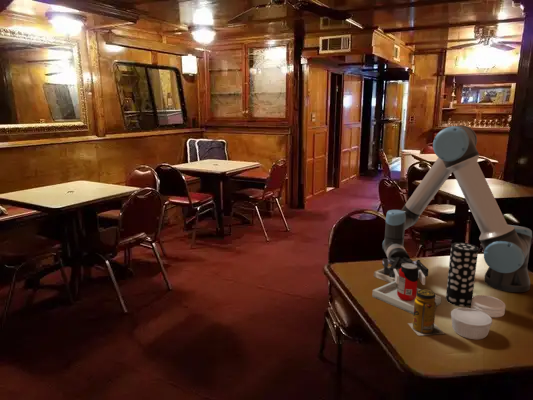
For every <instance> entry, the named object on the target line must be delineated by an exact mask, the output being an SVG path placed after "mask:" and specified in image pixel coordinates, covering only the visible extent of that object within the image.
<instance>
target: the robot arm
mask: <svg viewBox="0 0 533 400" xmlns="http://www.w3.org/2000/svg"><path fill="white" fill-rule="evenodd" d="M477 144H478V136H477V134H476V132H475V131H474V130H473V129H472V128H471V127H469V126H466V125H456V126H454V125H451V126H448V127H445V128H443V129H441V130H440V131H439V132H438V133H436V135H435V137H434V139H433V142H432V149H433V152H434V154H435V156H436V157H437V159H436V160H435V161H434V162H433V165H432V166H431V167H430V168H429V170H428V172H426V174H425V176H424V177H423V178H422V180H421V181H420V183H419V184H418V186H417V187H416V188H415V189H414V191H413V193H412V194H411V196H410V197H409V198H408V200H407V201H406V203H404V205H403V207H402V208H401V209H389V210H387V212H386V216H385V220H384V221H385V228H384V229H385V230H384V240H383V241H382V250H383V252H384V253H385V255H386V257H387V258H386V257H384V258H383V257H382V264H381V265H382V266H383V268H384V275H388V276H389V277H392V278H394V279H395V281H396V284H399V275H398V272H397V269H400V267H401V265H402V264H403V263H412V264H415V265H416V266H417V269H418V279H419V280H418V281H420V283H421V284H422V285H423V286H425V285H426V278H427V277H429V268H428V267H427V266H425V265H424V264H423V263H422V262H421V259H416V260H414V261H413V260H412V259H411V257H410V255H409V253H408V251H407V250H406V248H405V247H404V241H405V230H407V229H409V228H410V227H413V226H414V225H415V224H416V223H417V222H418V221H419V218H420V216H421V215H422V214H423V212H424V211H425V209H426V208H427V207H428V205H429V204H430V203H431V201H432V200H433V199H434V197H435V196H436V194H438V192H439V190H440V189H441V188H442V186H444V184H445V183H446V181H447V180H448V179H449V177H450V176H451V175H452V173H453V175H454V177H455V179H456V181H457V184H458V186H459V188H460V191H461V192H462V195H463V197H464V199H465V201H466V204H468V208H469V210H470V211H471V213H472V216H473V218H474V220H475V222H476V224H477V226H478V229H479V231H480V235H479V238H478V239H479V241H480V244H481V247H482V249H483V250H484V251H483V259H484V262H485V264H486V265H487V266H488V268H487V270H486V272H485V274H484V283H485V284H486V285H488V286H490V287H492V288H494V289H496V290H498V291H499V290H500V291H503V292H510V293H525V292H528V291H529V290H530V289H531V279H530V276H529V271H528V270H529V269H528V263H529V259H530V252H531V251H530V250H531V243H532V239H533V231H532V230H531V228H528V227H526V226H519V225H516V224H515V225H514V224H513V225H512V224H508V222H507V221H506V219H505V216H504V214H503V213H502V211H501V209H500V206H499V205H498V202H497V200H496V197H495V196H494V193H493V191H492V190H491V188H490V186H489V183H488V182H487V179H486V177H485V175H484V173H483V171H482V169H481V167H480V164H479V162H478V160H479V158H480V153H479V151H478V148H477ZM390 265H391V266H390ZM388 266H390V269H389V268H388Z"/></svg>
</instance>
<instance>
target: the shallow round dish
mask: <svg viewBox="0 0 533 400" xmlns="http://www.w3.org/2000/svg"><path fill="white" fill-rule="evenodd" d="M470 308H471V309H475V310H479V311H481V312H484V313H486V314H487V315H489V316H490V317H491V318H501V317H503V316H504V315H505V313H506V303H505V302H504V301H503V300H502V299H500V298H497V297H495V296H491V295H484V294H479V295H474V296H473V297H472V302H471V305H470Z"/></svg>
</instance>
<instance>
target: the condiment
mask: <svg viewBox="0 0 533 400" xmlns="http://www.w3.org/2000/svg"><path fill="white" fill-rule="evenodd" d="M435 295H436V293H435V292H433V290H429V289H424V288H423V289H421V290H418V291H417V296H416V299H415V303H414V314H412V315H413V319H412V322H411V323H410V322H407V325H408V326H409V327H410V328H411V330H413V332H414V333H415V334H416V335H417V336H431V335H432V336H433V335H445V334H446V333H445V332H444V331H443V330H442V329H441V328H440V327H439V326H438V325H437V324H436V323H435V318H436V309H437V308H436V307H437V306H436V302H435Z"/></svg>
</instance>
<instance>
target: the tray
mask: <svg viewBox="0 0 533 400" xmlns="http://www.w3.org/2000/svg"><path fill="white" fill-rule="evenodd" d="M397 290H398V284H396V281H393V282H391V283H389V282H387V283H386V284H384V285H381V286H380V287H376V288H374V289H372V295H371V297H372V298H373V299H374V298H375V299H377V300H379V301H381V302H384V303H386V304H388V305H390V306H393V307H395V308H397V309H399V310H400V309H401V310H403V311H405V312H407V313H409V314H412V315H414V303H415V299H416V298H415V299H413V300H411V301H406V300H402V299H401V298H400V297H399V296H398V295H397ZM418 290H422V289H421V288H419V287H417V291H418ZM416 296H417V293H416ZM441 301H442V297H441V296H440V295H437V294H435V302H436V307H437V306H439V305H440V304H441Z"/></svg>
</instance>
